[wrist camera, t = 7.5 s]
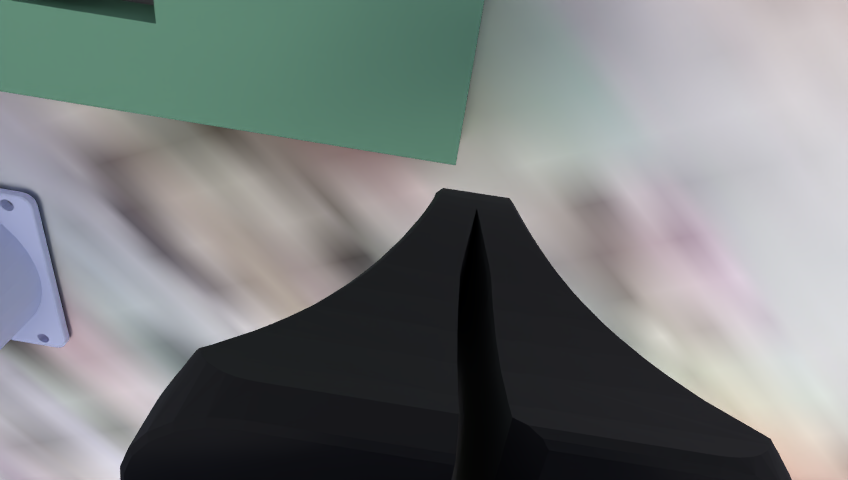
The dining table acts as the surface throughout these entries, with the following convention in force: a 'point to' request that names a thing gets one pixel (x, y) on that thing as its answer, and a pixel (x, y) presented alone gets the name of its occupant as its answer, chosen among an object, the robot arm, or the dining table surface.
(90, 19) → the putting mat
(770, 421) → the dining table surface
